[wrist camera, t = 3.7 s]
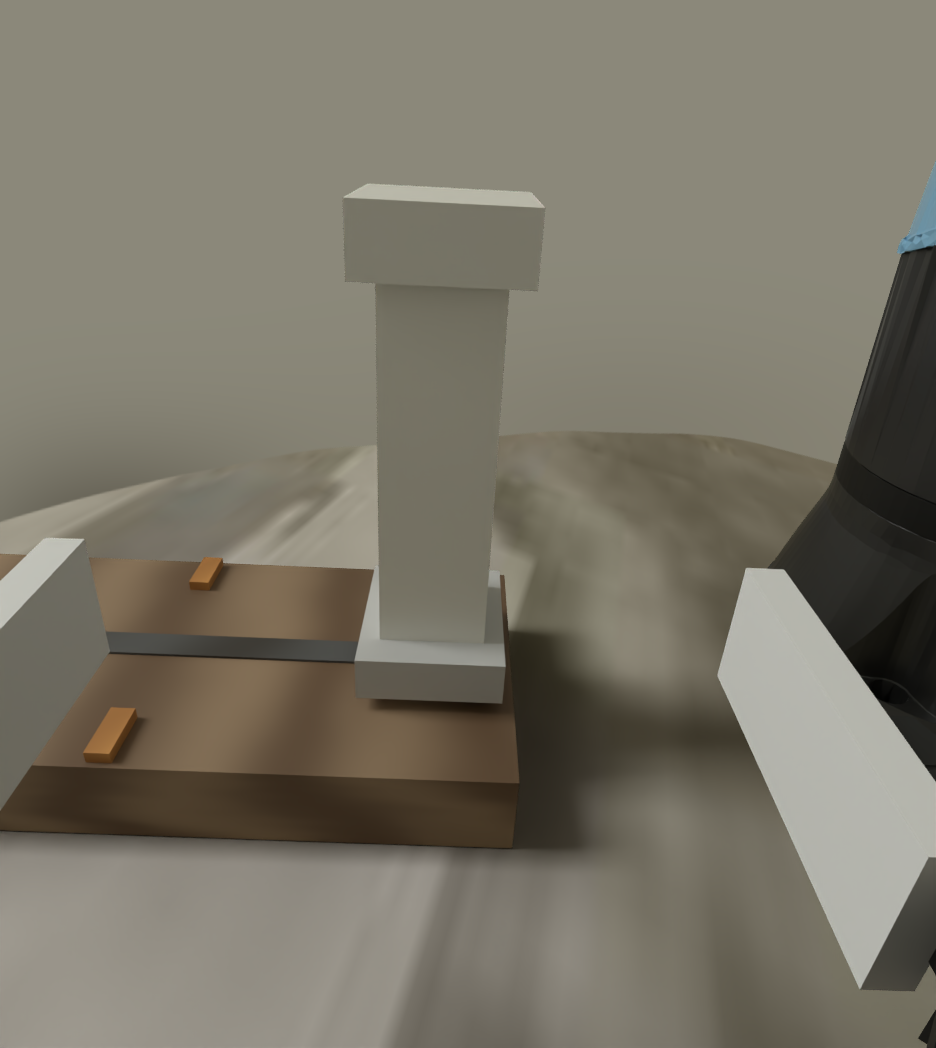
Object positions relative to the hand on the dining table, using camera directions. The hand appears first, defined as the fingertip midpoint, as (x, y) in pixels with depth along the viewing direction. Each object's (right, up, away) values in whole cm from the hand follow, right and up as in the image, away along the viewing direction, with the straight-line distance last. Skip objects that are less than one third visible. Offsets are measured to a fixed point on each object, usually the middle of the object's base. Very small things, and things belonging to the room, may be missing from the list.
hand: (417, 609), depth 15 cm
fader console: (-11, -5, +14) cm, 19 cm away
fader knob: (0, -3, +13) cm, 13 cm away
